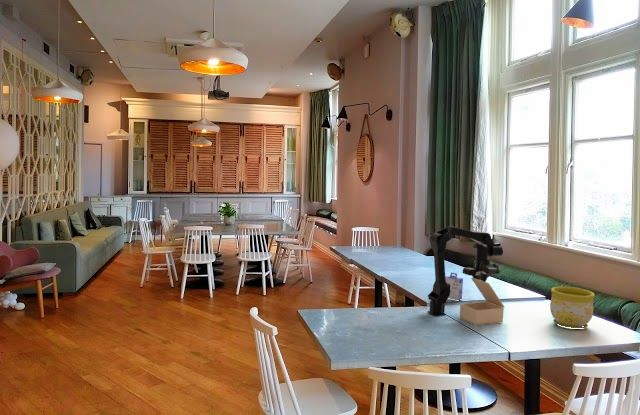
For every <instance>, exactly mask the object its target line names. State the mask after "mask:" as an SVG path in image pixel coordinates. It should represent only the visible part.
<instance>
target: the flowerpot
mask: <svg viewBox="0 0 640 415" xmlns="http://www.w3.org/2000/svg"><path fill="white" fill-rule="evenodd" d="M550 291H551V299H550V305H549V309H550V314H551V316H552V317H553V320H552V321H553V323H554V324H555V323H556V324H559V325H561V326H565V327H571V328H585V329H587V328H588V323H589V322H591V320H592V318H593V314H594V298H595V297H596V295H595V294H596V293H594V292H593V291H590V290H588V289H584V288H579V287H573V286H554V287H551V289H550ZM556 324H555V325H556ZM582 326H584V327H582Z"/></svg>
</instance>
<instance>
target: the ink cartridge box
mask: <svg viewBox="0 0 640 415" xmlns="http://www.w3.org/2000/svg"><path fill="white" fill-rule="evenodd" d="M445 280H446V283H448V284H450V291H451V293H450V296H449V297H448V298H450V299H455V300H460V299H462V300H463V290H464V289H463V288H464V286H463V284H464V278H463V277H458V273H456V272H450V275H449V276H448V275H445Z"/></svg>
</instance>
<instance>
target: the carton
mask: <svg viewBox="0 0 640 415" xmlns="http://www.w3.org/2000/svg"><path fill="white" fill-rule="evenodd" d="M459 305H460V307H459V319H460V320H463V321H465V322H467V323H469V322H470V323H469V324H471V323H472V325H473V324H474V325H473V326H475V325H478V326H482V325H481V324H486V325H491V324H490V323H495V324H500V323H499V322H504V310H505V309H504V308H505V307H504V308H503V307H500V306H497V305H495V304H492V303H490V302H487V301H486V300H485V301H478V302H468V303H467V302H466V303H460V304H459Z"/></svg>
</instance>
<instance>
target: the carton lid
mask: <svg viewBox="0 0 640 415" xmlns="http://www.w3.org/2000/svg"><path fill="white" fill-rule="evenodd" d="M471 281H472V282H473V283H474V285H475V286H476V288H477V289H478V291H479V293H480V294H481V296H482V297H483V298H484V300H485V302H486V301H487V302H489V303H492V304H495V305H497V306H500V307H502V308H505V305H504V303H503V302H502V301H501V299H500V298H499V296H498V295H497V293H496V291H495V290H494V289H493V287H492V285H491V284H490V283H489V282H484V281H481V280H479V279H475V278H473V277H471Z"/></svg>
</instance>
